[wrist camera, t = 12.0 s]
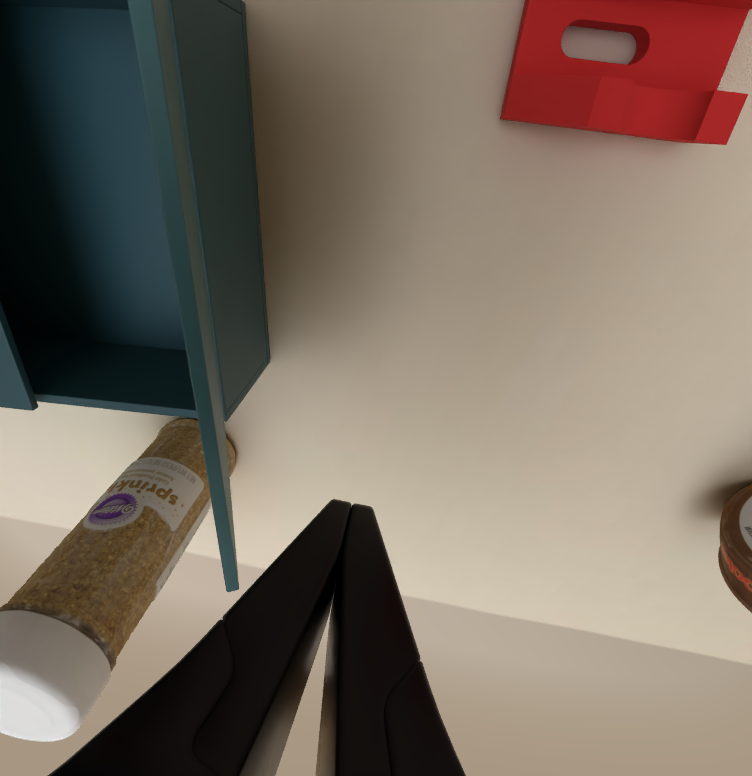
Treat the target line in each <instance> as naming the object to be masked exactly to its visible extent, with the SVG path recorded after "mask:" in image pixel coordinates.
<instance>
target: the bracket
mask: <svg viewBox="0 0 752 776" xmlns="http://www.w3.org/2000/svg"><path fill="white" fill-rule="evenodd" d="M750 9H752V0H525V4H524V9H523V14H522V18H521V23H520V28H519V32H518V37H517V42H516V46H515V51H514V56H513V60H512V65H511V70H510V74H509V79H508V84H507V88H506V93H505V98H504V102H503V107H502V112H501V116H500V119H504V120H512V121H520V122H527V123H535V124H543V125H550V126H558V127H566V128H573V129H581V130H589V131H596V132H604V133H612V134H620V135H627V136H635V137H643V138H650V139H658V140H666V141H673V142H682V143H702V144H722V145H726V144H727V142H728V140H729V137H730V135H731V133H732V130H733V128H734V126H735V124H736V121H737V119H738V117H739V114H740V112H741V110H742V107H743V105H744V103H745V101H746V98H747V96H748V94H742V93H734V92H726V91H718V90H717V88H718V85H719V83H720V80H721V78H722V76H723V73H724V71H725V68H726V66H727V63H728V61H729V58H730V56H731V53H732V51H733V48H734V46H735V43H736V41H737V38H738V36H739V34H740V31H741V29H742V26H743V24H744V21H745V19H746V16H747V14H748V11H749V10H750ZM568 26H578V27H586V28H595V29H603V30H611V31H620V32H627V33H630V34H632V35H633V36H634V37H635V39H636V42H637V50H636V54H635V56H634V58H633V59H632V61H631V62H630V63H629V64H628V65H624V64H616V63H608V62H600V61H592V60H584V59H575V58H570V57H568V56H566V55H565V54H564V52H563V51H562V48H561V38H562V34H563V32H564V30H565V29H566V27H568Z"/></svg>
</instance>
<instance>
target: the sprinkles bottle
mask: <svg viewBox="0 0 752 776" xmlns="http://www.w3.org/2000/svg"><path fill="white" fill-rule="evenodd" d="M226 444H227V456H228V467H229V477H230V476H231V474H232V472H233V470H234V467H235V463H236V462H235V451H234V449H233V447H232V445H231V443H230V442H229V441H228V440H227V439H226ZM211 503H212V502H211V496H210V490H209V484H208V478H207V472H206V466H205V460H204V454H203V448H202V442H201V436H200V430H199V424H198V421H195V420H193V419H181V420H176V421H173V422H171V423H169V424H168V425H166V426H165V427H164V428H162V430H161V431H160V432H159V433H158V435H157V438H156V439H155V440H154V442H153V443H152V444H151V445H150V446H149V447H148V448H147V449H146V450H145V451H144V453H143V454H142V455H141V456H140V457H139V458H138V459H137V460H136V461H135V462H133V463H132V464H131V465H130V466H129V467H128V468H127V469H126V470H125V471H124V472H123V473H122V474H121V475H120V476H119V477H118V479H117V480H116V481H115V482H114V483H113V484H112V485H111V486H110V487H109V488H108V489H107V491H106V492H105V493H104V494H103V495H102V496H101V497H100V498H99V499H98V500H97V502H96V503H95V504H94V505H93V506H92V507H91V509H90V510H89V512H88V513H87V515H86V516H85V517H84V518H83V519H82V520H81V521H80V522H79V523H78V524H77V526H76V527H75V528H74V529H73V530H72V531H71V532H70V533H69V534H68V535H67V536H66V537H65V538H64V539H63V541H62V542H61V544H60V545H59V546H58V547H56V548H55V550H54V551H53V552H52V554H51V555H50V556H49V557H48V558H47V559H46V560H45V562H44V563H42V564H41V565H40V566H39V567H38V569H37V570H36V571H35V572H34V573H33V574H32V576H31V577H30V578H29V579H28V580H27V582H26V583H25V584H24V585H23V586H22V587H21V588H20V590H18V591H17V592H16V593H15V594H14V596H13V597H12V598H11V599H10V601H9V602H8V603H7V604H5V605H3V606H2V607H0V733H3V734H6V735H9V736H13V737H17V738H21V739H25V740H31V741H42V742H48V741H57V740H61V739H64V738H67V737H68V736H70V735H72V734H73V733H75V732H76V731H77V730H78V728H79V727H80V726H81V724H82V723H83V721H84V720H85V718H86V716H87V715H88V713H89V712H90V710H91V709H92V707H93V706H94V704H95V702H96V701H97V699H98V698H99V696H100V694H101V693H102V691H103V690H104V688H105V686H106V685H107V683H108V681H109V678H110V673H111V671H112V670H113V668H114V666H115V664H116V658H117V656H118V655H119V653H120V651H121V650H122V648H123V647H124V645H125V643H126V642H127V640H128V639H129V637H130V635H131V633H132V632H133V630H134V629H135V627H136V626H137V624H138V623H139V621H140V619H141V618H142V616H143V615H144V613H145V612H146V610H147V608H148V607H149V605H150V604H151V602H152V601H153V600H154V599H155V598H156V597H157V595H158V593H159V592H160V590H161V589H162V587H163V585H164V584H165V582H166V580H167V579H168V577H169V576H170V574H171V572H172V570H173V569H174V567H175V565H176V564H177V562H178V561H179V559H180V557H181V556H182V554H183V552H184V551H185V549H186V547H187V546H188V544H189V542H190V541H191V539H192V537H193V536H194V534H195V532H196V531H197V529H198V527H199V526H200V524H201V522H202V521H203V519H204V518H205V516H206V514H207V512H208V511H209V509H210V506H211Z"/></svg>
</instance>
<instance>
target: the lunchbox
mask: <svg viewBox="0 0 752 776" xmlns="http://www.w3.org/2000/svg"><path fill="white" fill-rule="evenodd" d="M167 1H168V8H169V16H170V23H171V31H172V38H173V46H174V53H175V60H176V68H177V75H178V83H179V90H180V97H181V105H182V112H183V120H184V127H185V135H186V142H187V149H188V157H189V164H190V172H191V179H192V187H193V194H194V201H195V209H196V216H197V224H198V231H199V239H200V246H201V253H202V261H203V268H204V276H205V283H206V290H207V298H208V305H209V313H210V320H211V328H212V335H213V342H214V350H215V357H216V365H217V372H218V380H219V387H220V394H221V402H222V409H223V417H224V421H225V422H226V421H228V419H229V418H230V416H231V415H232V414H233V412H234V411H235V409H236V408H237V407H238V405H239V404H240V403H241V401H242V400H243V398H244V397H245V396H246V394H247V393H248V392H249V390H250V389H251V387H252V386H253V385H254V383H255V382H256V380H257V379H258V378H259V376H260V375H261V374H262V372H263V371H264V369H265V368H266V367H267V365H268V364H269V363H270V354H269V340H268V326H267V312H266V298H265V284H264V270H263V256H262V242H261V228H260V214H259V200H258V185H257V171H256V157H255V143H254V129H253V115H252V101H251V87H250V73H249V59H248V45H247V31H246V17H245V3H244V2H243V1H241V0H167ZM37 401H39V402H48V403H58V404H67V405H76V406H85V407H95V408H104V409H113V410H123V411H132V412H141V413H151V414H160V415H169V416H178V417H188V418H197V412H196V406H195V401H194V395H193V389H192V383H191V377H190V371H189V365H188V359H187V353H186V347H185V341H184V335H183V329H182V323H181V317H180V311H179V305H178V299H177V293H176V287H175V281H174V275H173V269H172V263H171V258H170V252H169V246H168V240H167V234H166V228H165V222H164V216H163V210H162V204H161V198H160V192H159V186H158V180H157V174H156V168H155V162H154V156H153V150H152V144H151V138H150V132H149V126H148V120H147V115H146V109H145V103H144V97H143V91H142V85H141V79H140V73H139V67H138V61H137V55H136V49H135V43H134V37H133V31H132V25H131V19H130V13H129V7H128V1H127V0H0V407H5V408H14V409H24V410H35V409H36V408H38V404H37ZM197 419H198V418H197Z"/></svg>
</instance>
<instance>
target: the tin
mask: <svg viewBox="0 0 752 776" xmlns="http://www.w3.org/2000/svg"><path fill="white" fill-rule="evenodd" d="M718 558H719V566H720V570H721V573H722V575H723V578H724V580H725V582H726V584H727V585H728V587H729V589H730V590H731V591H732V593H733V594H734V595H735V596H736V598H737V599H738V600H739V601H740V602H741V603H742V604H743V605H744V606H745V607H746V608H747V609H748V610H749V611H750V612H752V485H749V486H747V487H745V488H743V489H742V490H740V491H739V492H738V493H736V494H735V495H734V496H733V497H732V498H731V499H730V500H729V501H728V503H727V504H726V506H725V507H724V510H723V512H722V516H721V521H720V547H719V553H718Z"/></svg>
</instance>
